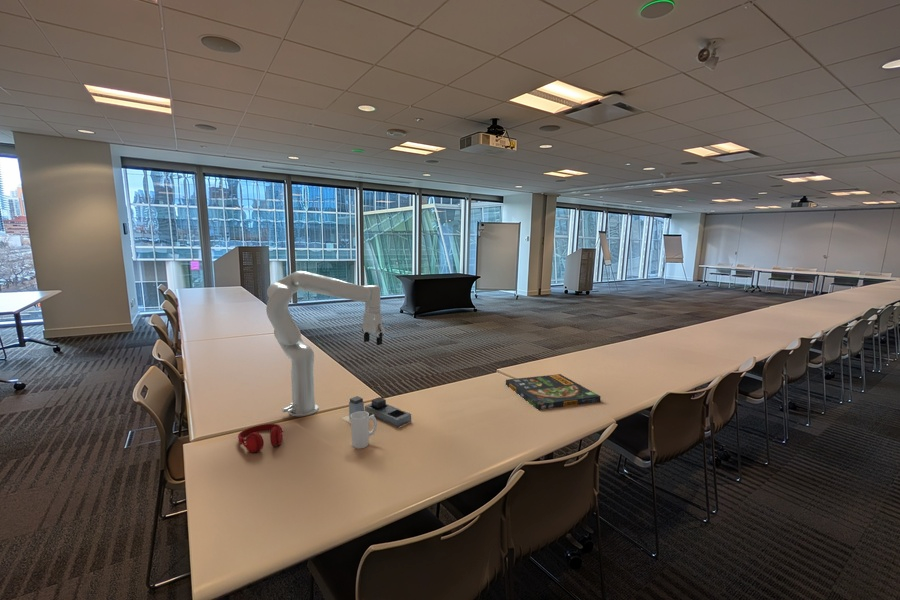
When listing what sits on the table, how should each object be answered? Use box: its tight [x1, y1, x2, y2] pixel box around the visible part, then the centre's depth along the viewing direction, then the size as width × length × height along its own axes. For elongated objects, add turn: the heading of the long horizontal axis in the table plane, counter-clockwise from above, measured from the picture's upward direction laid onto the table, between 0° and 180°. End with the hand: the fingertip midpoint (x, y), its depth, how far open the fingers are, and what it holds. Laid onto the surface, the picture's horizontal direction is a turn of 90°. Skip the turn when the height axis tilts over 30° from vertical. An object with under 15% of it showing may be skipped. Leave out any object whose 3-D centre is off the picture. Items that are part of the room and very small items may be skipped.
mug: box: [350, 410, 378, 450], centre depth 145 cm, size 10×7×12 cm, turn 119°
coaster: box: [340, 414, 351, 425], centre depth 167 cm, size 10×10×1 cm
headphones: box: [237, 423, 284, 454], centre depth 147 cm, size 15×7×20 cm
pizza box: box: [505, 373, 601, 411], centre depth 200 cm, size 35×35×4 cm
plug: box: [348, 395, 365, 419], centre depth 166 cm, size 4×4×9 cm
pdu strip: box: [364, 397, 412, 429], centre depth 168 cm, size 8×22×6 cm, turn 50°
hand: (372, 343), depth 192 cm, fingers open, 9 cm apart
